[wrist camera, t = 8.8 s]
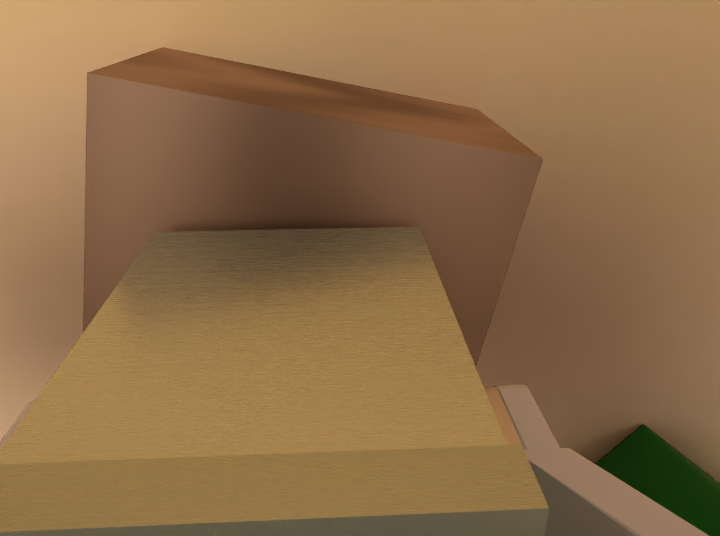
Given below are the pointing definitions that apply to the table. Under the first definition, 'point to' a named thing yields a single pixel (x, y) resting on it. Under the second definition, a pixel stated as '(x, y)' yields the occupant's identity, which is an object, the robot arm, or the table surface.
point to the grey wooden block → (270, 401)
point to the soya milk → (666, 479)
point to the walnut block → (296, 169)
